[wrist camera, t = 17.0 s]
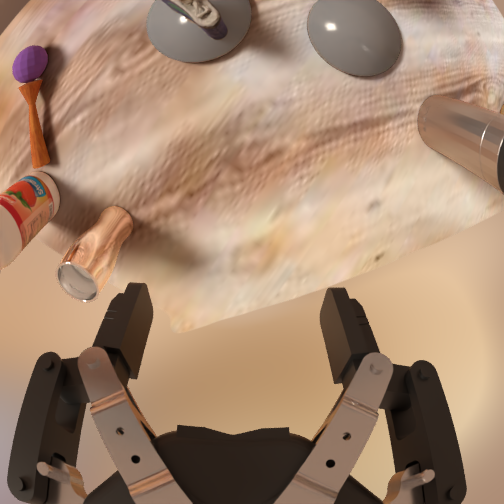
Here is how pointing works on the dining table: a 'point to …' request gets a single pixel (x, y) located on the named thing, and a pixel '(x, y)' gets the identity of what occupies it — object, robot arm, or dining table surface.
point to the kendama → (32, 96)
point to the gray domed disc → (354, 35)
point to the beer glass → (94, 255)
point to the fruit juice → (25, 213)
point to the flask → (201, 16)
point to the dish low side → (196, 31)
